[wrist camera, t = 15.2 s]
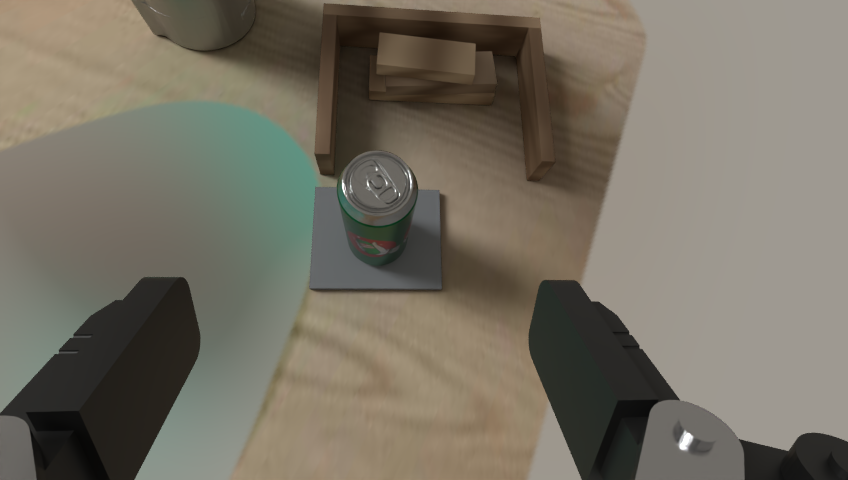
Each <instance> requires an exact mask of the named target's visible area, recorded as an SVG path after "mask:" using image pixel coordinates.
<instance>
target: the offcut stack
mask: <svg viewBox="0 0 848 480" xmlns="http://www.w3.org/2000/svg"><path fill="white" fill-rule="evenodd" d="M475 50H476V44H474V43H465V42H457V41H448V40H440V39H432V38H423V37H415V36H406V35H398V34H390V33H381V32H380V35H379V44H378V54H377V55H370V71H369V100H388V101H409V102H431V103H453V104H474V105H491V104H492V102H493V100H494V97H495V95H494V91H495V89H496V86H497V78H496V72H495V66H494V60H493V54H492V51H483V52H475Z"/></svg>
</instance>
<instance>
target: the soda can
mask: <svg viewBox="0 0 848 480" xmlns="http://www.w3.org/2000/svg"><path fill="white" fill-rule="evenodd" d="M337 197H338V201H339V206H340V210H341V214H342V219H343V223H344V227H345V232H346V236H347V240H348V244H349V247H350V249H351V251H352V253H353V254H354V256H355V257H356V258H357V259H359V260H360V261H362V262H364V263H366V264H369V265H373V266H382V265H386V264H389V263H391V262H393V261H395V260H396V259H398V258H399V257H400V256H401V254H402V253H403V251H404V249H405V247H406V244H407V240H408V236H409V232H410V227H411V223H412V219H413V215H414V210H415V206H416V202H417V197H418V185H417V181H416V178H415V175H414V174H413V172H412V170H411V169H410V168H409V167H408V165H407V164H406V163H405V162H404V161H403V160H402V159H401V158H399V157H398V156H396V155H394V154H392V153H390V152H387V151H381V150H374V151H368V152H364V153H362V154H360V155H358V156H356V157H355V158H354V159H352V160H351V161H350V163H349V164H348V165H347V166H346V167H345V168H344V169H343V171H342V172H341V174H340V177H339V179H338V183H337Z"/></svg>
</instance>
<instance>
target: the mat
mask: <svg viewBox="0 0 848 480" xmlns="http://www.w3.org/2000/svg"><path fill="white" fill-rule="evenodd" d="M309 288H310V289H319V290H441V289H442V274H441V236H440V198H439V190H418V197H417V202H416V206H415V210H414V215H413V219H412V223H411V227H410V232H409V236H408V240H407V244H406V247H405V249H404V251H403V253H402V254H401V256H400V257H399V258H398V259H396V260H395V261H393V262H391V263H389V264H386V265H382V266H373V265H369V264H366V263H364V262H362V261H360V260H359V259H357V258H356V257H355V256H354V254H353V253H352V251H351V249H350V247H349V244H348V240H347V236H346V232H345V227H344V223H343V219H342V214H341V210H340V206H339V201H338V197H337V188H336V187H315V203H314V219H313V236H312V252H311V269H310V285H309Z"/></svg>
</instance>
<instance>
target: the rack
mask: <svg viewBox="0 0 848 480" xmlns="http://www.w3.org/2000/svg"><path fill="white" fill-rule="evenodd" d="M380 32H381V33H390V34H398V35H406V36H415V37H423V38H432V39H440V40H448V41H457V42H465V43H474V44H476V50H475V52H483V51H492V54H493V55H504V56H516V61H517V73H518V84H519V96H520V107H521V118H522V130H523V141H524V152H525V164H526V175H527V180H533V181H539V180H540V179H541V178H542V177H543V176H544V174H545V173H546V172H547V171H548V170H549V169H550V167H551V166H552V165H553V164H554V163H555V152H554V143H553V134H552V125H551V116H550V107H549V98H548V88H547V79H546V70H545V61H544V52H543V43H542V34H541V25H540V18H533V17H518V16H503V15H488V14H473V13H459V12H444V11H429V10H414V9H399V8H384V7H370V6H355V5H340V4H325V3H324V9H323V25H322V41H321V57H320V73H319V89H318V105H317V121H316V137H315V157H316V160H317V164H318V167H319V170H320V174H326V175H334V167H335V146H336V125H337V104H338V83H339V62H340V46H349V47H366V48H378V44H379V35H380Z"/></svg>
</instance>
